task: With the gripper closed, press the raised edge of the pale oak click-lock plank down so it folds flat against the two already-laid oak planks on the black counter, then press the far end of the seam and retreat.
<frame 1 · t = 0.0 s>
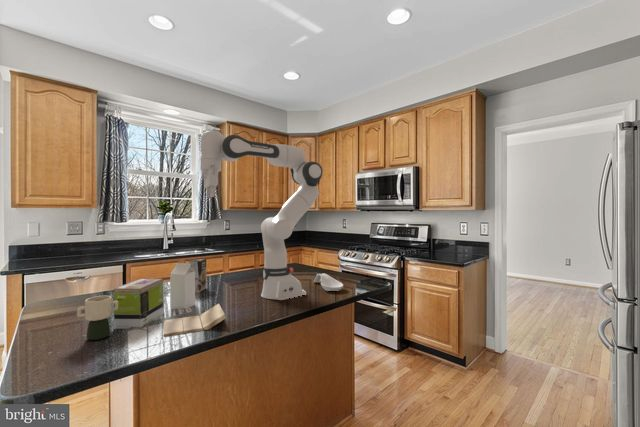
hand: (210, 197, 135), 48 cm above the countertop, fingers open, 8 cm apart
character mug: (98, 338, 98), on the countertop
milk carton: (182, 307, 130), on the countertop
laid floor: (182, 328, 107), on the countertop
coffee box: (197, 290, 158), on the countertop
tea box: (140, 322, 113), on the countertop
spoon rest: (326, 288, 165), on the countertop
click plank: (212, 316, 111), point 3 cm above the countertop, hinge at 28.0°
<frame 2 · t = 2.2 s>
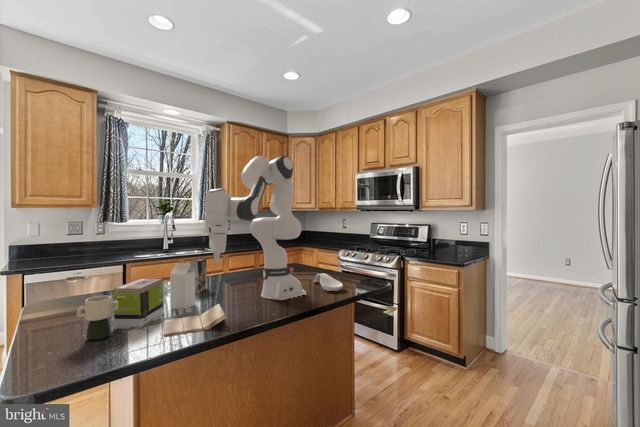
hand: (216, 261, 123), 21 cm above the countertop, fingers closed
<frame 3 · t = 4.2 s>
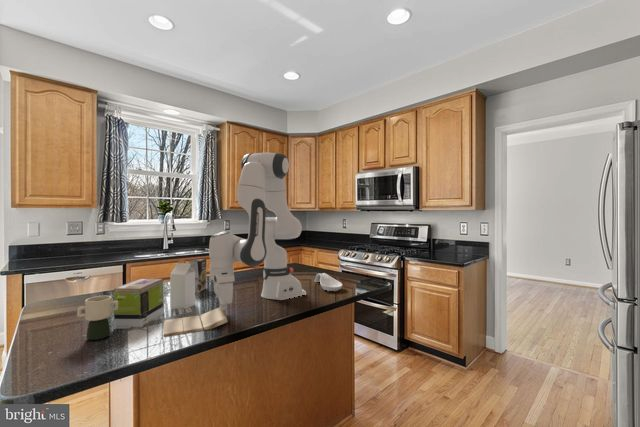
hand: (222, 309, 116), 4 cm above the countertop, fingers closed, pressing on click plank
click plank: (213, 318, 111), point 2 cm above the countertop, hinge at 16.4°, touching gripper
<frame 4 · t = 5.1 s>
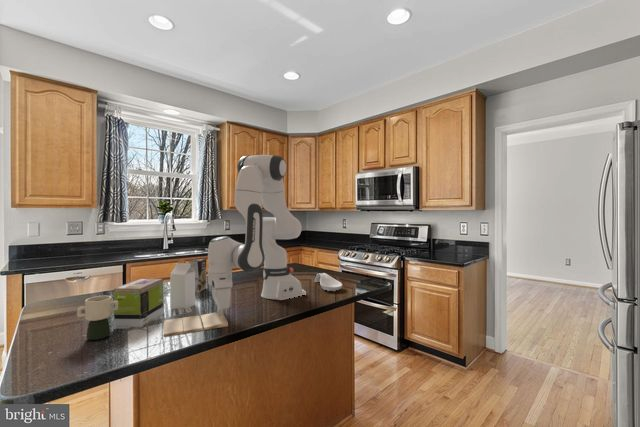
hand: (220, 314, 116), 2 cm above the countertop, fingers closed, pressing on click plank
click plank: (213, 320, 111), point 1 cm above the countertop, hinge at 3.0°, touching gripper
everything else where it was.
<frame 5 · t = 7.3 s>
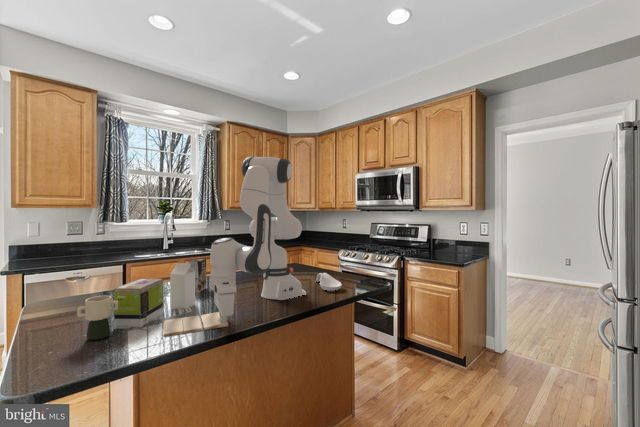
hand: (222, 321, 109), 2 cm above the countertop, fingers closed, pressing on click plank
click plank: (213, 320, 111), point 1 cm above the countertop, hinge at 2.8°, touching gripper
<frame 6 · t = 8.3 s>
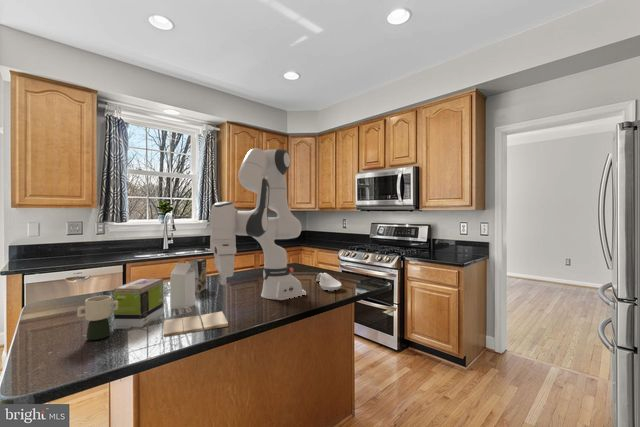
hand: (223, 283, 109), 15 cm above the countertop, fingers closed
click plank: (213, 320, 111), point 1 cm above the countertop, hinge at 2.6°
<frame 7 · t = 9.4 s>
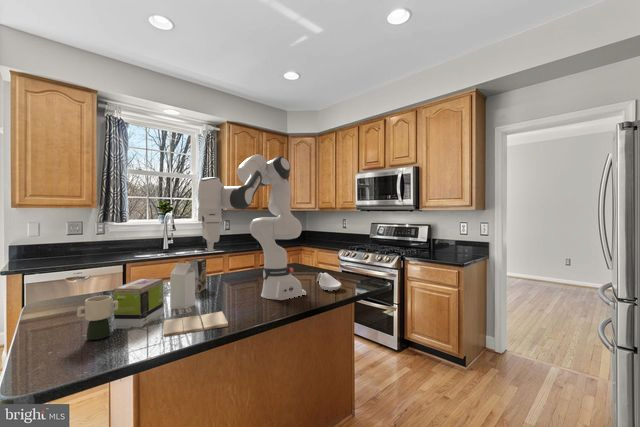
hand: (210, 251, 121), 26 cm above the countertop, fingers closed
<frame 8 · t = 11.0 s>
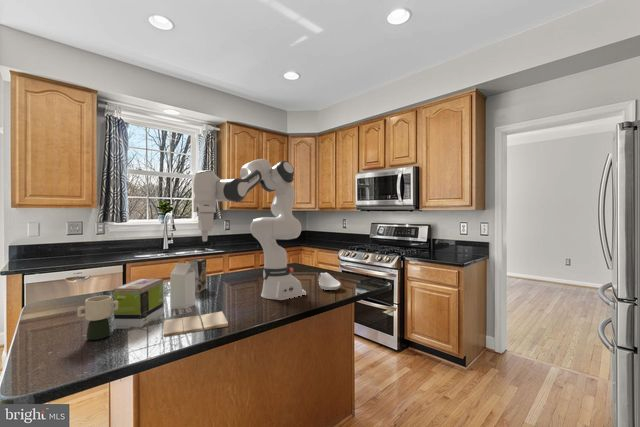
hand: (204, 241, 127), 29 cm above the countertop, fingers closed
at the end: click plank at +3° (first picture: +28°) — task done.
